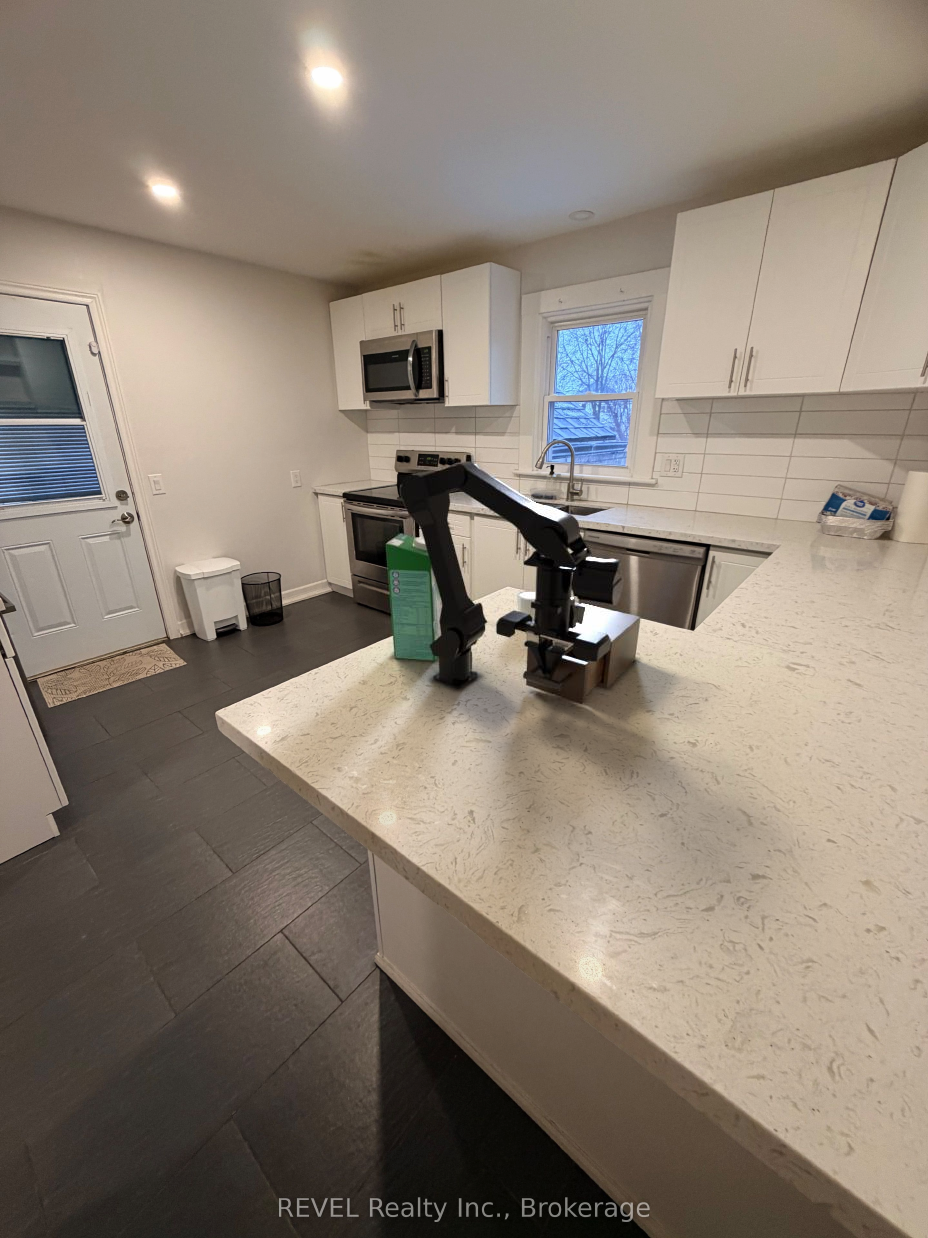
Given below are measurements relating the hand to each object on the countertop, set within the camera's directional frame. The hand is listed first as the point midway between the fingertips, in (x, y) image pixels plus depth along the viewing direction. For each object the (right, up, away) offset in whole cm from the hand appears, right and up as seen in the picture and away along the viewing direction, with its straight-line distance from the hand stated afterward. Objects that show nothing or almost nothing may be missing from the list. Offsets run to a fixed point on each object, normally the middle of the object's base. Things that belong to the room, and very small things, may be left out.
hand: (548, 678), depth 86 cm
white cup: (+2, +10, +37) cm, 38 cm away
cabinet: (+12, +1, +16) cm, 20 cm away
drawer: (+4, -2, +6) cm, 8 cm away
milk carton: (-24, +3, +23) cm, 34 cm away
